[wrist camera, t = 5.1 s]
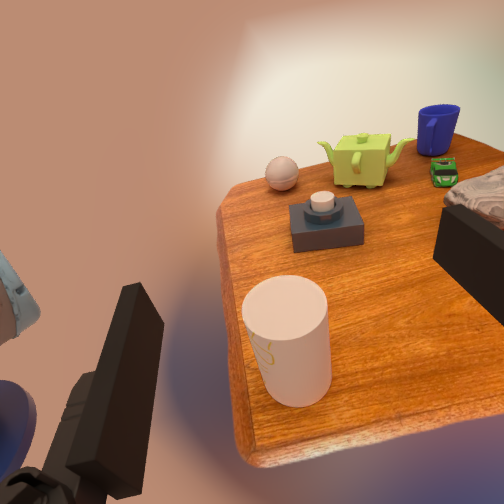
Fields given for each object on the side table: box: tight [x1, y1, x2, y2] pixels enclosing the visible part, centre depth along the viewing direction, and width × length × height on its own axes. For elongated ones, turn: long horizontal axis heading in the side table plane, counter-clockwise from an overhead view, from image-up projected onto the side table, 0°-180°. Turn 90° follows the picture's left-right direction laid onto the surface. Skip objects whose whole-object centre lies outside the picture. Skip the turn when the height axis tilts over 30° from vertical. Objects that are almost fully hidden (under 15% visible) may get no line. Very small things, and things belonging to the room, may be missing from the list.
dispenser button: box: [311, 191, 334, 212], centre depth 53 cm, size 4×4×2 cm
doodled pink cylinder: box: [242, 275, 332, 407], centre depth 32 cm, size 8×8×12 cm
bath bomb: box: [265, 156, 299, 191], centre depth 72 cm, size 8×8×8 cm
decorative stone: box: [444, 166, 504, 229], centre depth 49 cm, size 15×14×10 cm
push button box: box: [289, 196, 364, 253], centre depth 55 cm, size 12×10×6 cm
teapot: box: [317, 133, 414, 188], centre depth 67 cm, size 15×13×11 cm
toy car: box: [430, 158, 458, 187], centre depth 63 cm, size 10×5×2 cm, turn 159°
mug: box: [417, 104, 460, 156], centre depth 70 cm, size 8×12×10 cm
